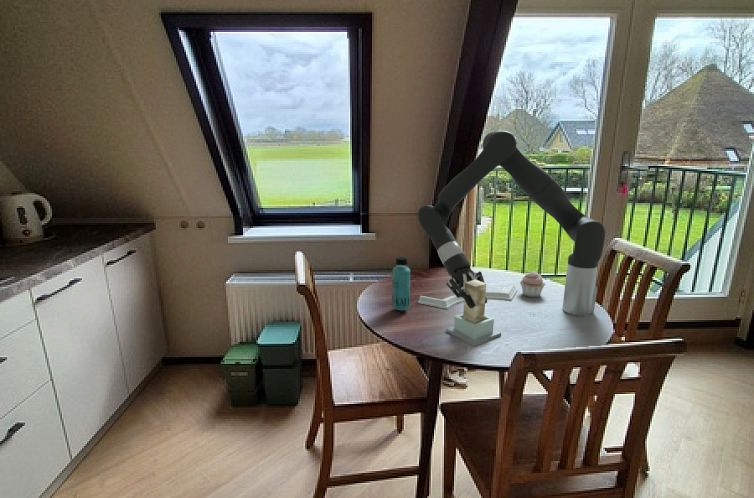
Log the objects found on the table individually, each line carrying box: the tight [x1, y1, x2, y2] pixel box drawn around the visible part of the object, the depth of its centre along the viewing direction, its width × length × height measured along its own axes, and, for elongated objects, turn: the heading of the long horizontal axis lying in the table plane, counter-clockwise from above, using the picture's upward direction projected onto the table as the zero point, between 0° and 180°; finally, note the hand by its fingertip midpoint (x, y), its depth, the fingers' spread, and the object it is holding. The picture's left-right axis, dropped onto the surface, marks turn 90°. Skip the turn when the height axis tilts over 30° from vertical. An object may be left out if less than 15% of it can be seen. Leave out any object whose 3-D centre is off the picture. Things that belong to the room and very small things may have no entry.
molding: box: [417, 284, 519, 310], centre depth 157 cm, size 42×12×3 cm, turn 105°
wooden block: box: [462, 279, 487, 323], centre depth 127 cm, size 4×4×12 cm
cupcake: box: [519, 269, 546, 298], centre depth 159 cm, size 9×9×10 cm
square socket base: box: [445, 312, 502, 347], centre depth 130 cm, size 12×12×6 cm
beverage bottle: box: [391, 256, 411, 311], centre depth 145 cm, size 6×7×20 cm
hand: (479, 305), depth 126 cm, fingers closed on wooden block, 4 cm apart
